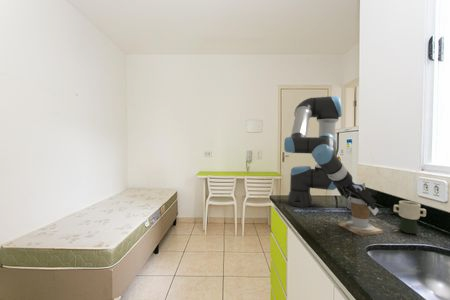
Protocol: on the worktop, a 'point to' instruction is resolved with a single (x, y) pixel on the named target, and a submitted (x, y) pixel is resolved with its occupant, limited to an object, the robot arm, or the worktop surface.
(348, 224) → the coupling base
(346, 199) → the skincare box
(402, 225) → the character mug
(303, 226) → the worktop surface
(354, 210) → the coffee cup
